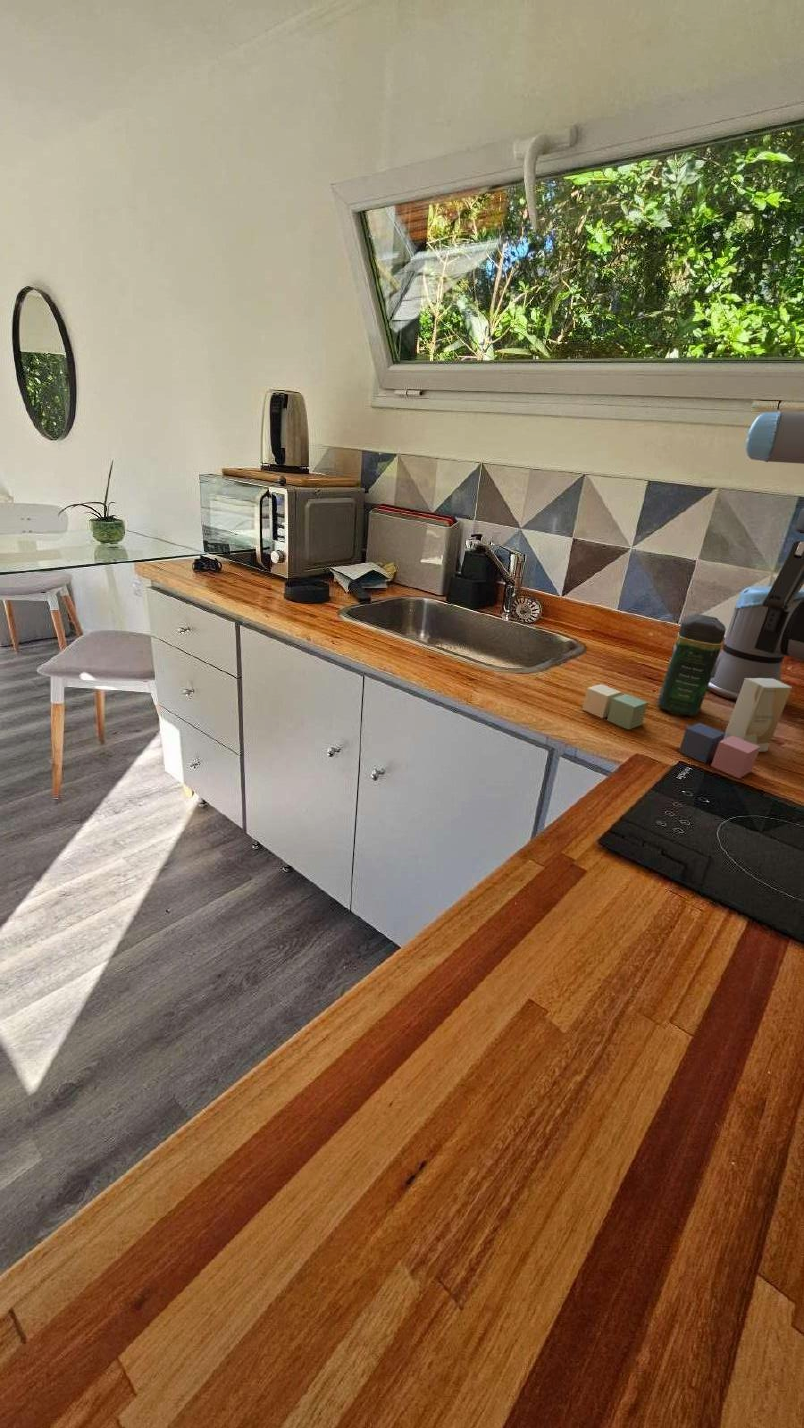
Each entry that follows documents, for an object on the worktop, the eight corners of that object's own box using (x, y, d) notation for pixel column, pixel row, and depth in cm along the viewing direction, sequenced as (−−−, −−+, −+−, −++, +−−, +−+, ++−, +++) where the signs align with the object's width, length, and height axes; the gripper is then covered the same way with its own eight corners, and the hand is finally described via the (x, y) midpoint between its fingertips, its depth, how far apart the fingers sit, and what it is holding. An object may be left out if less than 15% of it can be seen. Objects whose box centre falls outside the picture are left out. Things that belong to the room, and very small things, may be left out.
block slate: (691, 746, 102) (699, 722, 101) (717, 757, 99) (725, 732, 98) (678, 752, 100) (686, 728, 98) (704, 763, 97) (713, 738, 95)
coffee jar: (698, 721, 113) (728, 627, 105) (654, 710, 116) (681, 617, 108) (700, 705, 121) (729, 616, 113) (659, 695, 124) (685, 608, 116)
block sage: (620, 715, 112) (626, 693, 110) (641, 724, 109) (648, 702, 107) (606, 720, 109) (612, 698, 108) (628, 730, 106) (634, 707, 104)
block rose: (723, 759, 99) (731, 735, 97) (751, 771, 96) (760, 746, 94) (710, 766, 96) (719, 741, 94) (739, 778, 93) (748, 753, 91)
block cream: (595, 705, 116) (600, 683, 114) (615, 713, 113) (621, 691, 111) (582, 709, 113) (587, 687, 111) (602, 718, 110) (607, 696, 108)
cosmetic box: (739, 753, 101) (763, 687, 96) (720, 741, 105) (743, 677, 100) (768, 751, 103) (794, 686, 98) (749, 740, 107) (773, 676, 102)
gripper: (831, 509, 78) (775, 663, 86) (886, 512, 93) (833, 643, 101) (771, 502, 83) (723, 647, 91) (832, 506, 98) (786, 631, 106)
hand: (781, 645), depth 96 cm, fingers open, 13 cm apart
